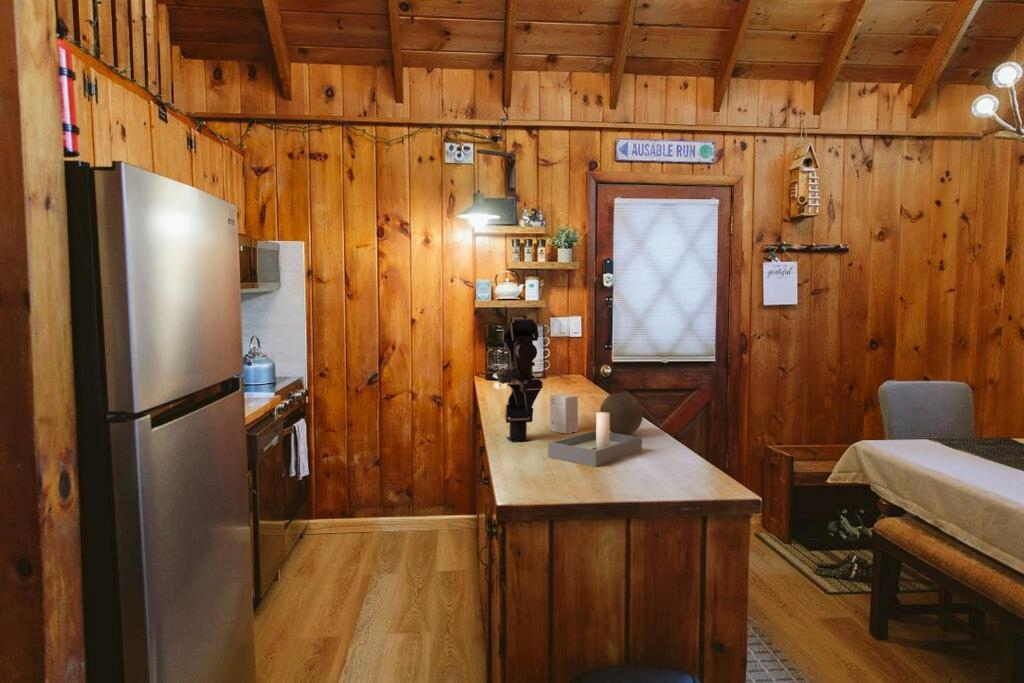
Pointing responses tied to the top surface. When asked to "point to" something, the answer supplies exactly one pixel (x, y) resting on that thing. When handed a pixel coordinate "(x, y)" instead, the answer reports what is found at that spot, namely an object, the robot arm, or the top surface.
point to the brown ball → (623, 413)
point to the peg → (602, 429)
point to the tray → (594, 448)
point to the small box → (564, 413)
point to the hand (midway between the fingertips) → (523, 408)
